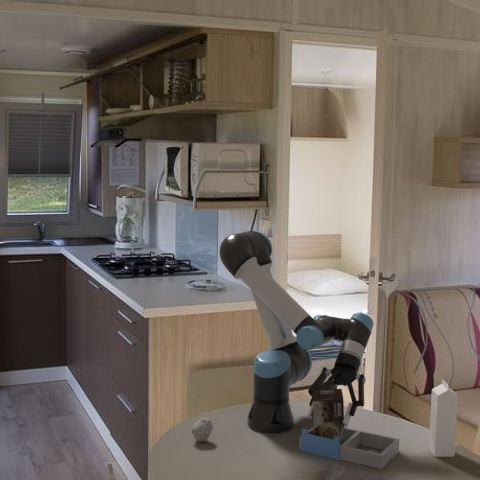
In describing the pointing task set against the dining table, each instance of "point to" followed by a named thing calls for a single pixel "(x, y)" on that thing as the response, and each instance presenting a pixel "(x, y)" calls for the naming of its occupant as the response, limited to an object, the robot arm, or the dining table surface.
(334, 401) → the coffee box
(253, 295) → the robot arm
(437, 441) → the milk
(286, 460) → the dining table surface
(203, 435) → the grey lumpy rounded piece
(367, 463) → the two-compartment sorting tray
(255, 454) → the dining table surface
